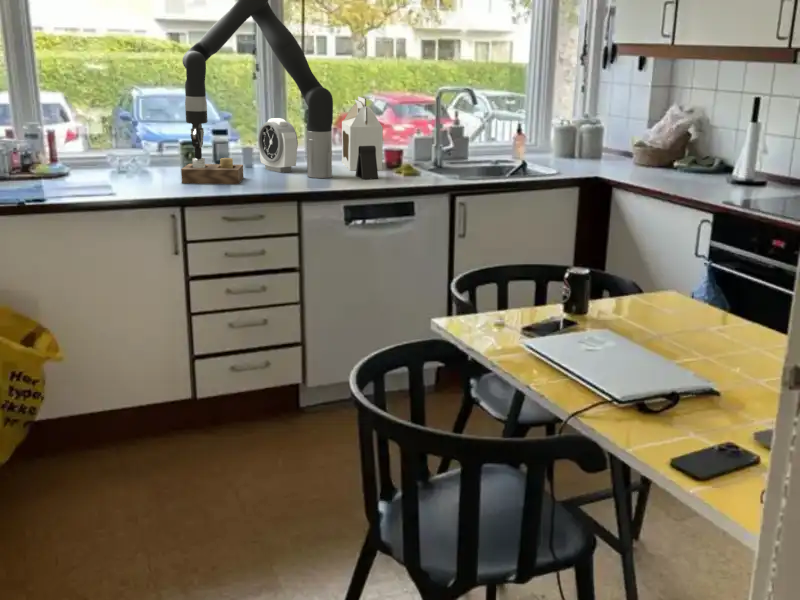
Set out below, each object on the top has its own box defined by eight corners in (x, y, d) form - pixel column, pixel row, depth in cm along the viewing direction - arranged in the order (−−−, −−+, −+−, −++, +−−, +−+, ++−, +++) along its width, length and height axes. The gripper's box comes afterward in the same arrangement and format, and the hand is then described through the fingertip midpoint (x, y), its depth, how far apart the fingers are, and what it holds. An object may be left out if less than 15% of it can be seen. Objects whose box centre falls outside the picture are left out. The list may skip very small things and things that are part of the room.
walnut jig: (243, 177, 319) (242, 156, 317) (238, 184, 306) (237, 161, 304) (189, 177, 318) (188, 155, 316) (181, 183, 305) (180, 160, 303)
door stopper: (355, 176, 329) (355, 144, 326) (370, 175, 331) (370, 144, 328) (363, 179, 321) (363, 147, 318) (378, 179, 323) (378, 147, 320)
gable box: (341, 163, 363) (341, 95, 355) (372, 163, 366) (373, 95, 358) (349, 171, 342) (350, 99, 334) (382, 170, 345) (383, 99, 337)
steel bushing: (206, 179, 314) (205, 157, 312) (204, 181, 310) (203, 159, 307) (194, 179, 314) (193, 157, 311) (192, 181, 310) (191, 159, 307)
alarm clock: (256, 168, 343) (255, 117, 338) (274, 166, 349) (273, 116, 343) (282, 173, 331) (281, 120, 325) (300, 172, 336) (299, 119, 330)
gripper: (203, 111, 298) (205, 161, 303) (210, 108, 311) (212, 156, 316) (181, 110, 298) (184, 160, 303) (189, 107, 311) (191, 155, 316)
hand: (198, 158), depth 310 cm, fingers closed
